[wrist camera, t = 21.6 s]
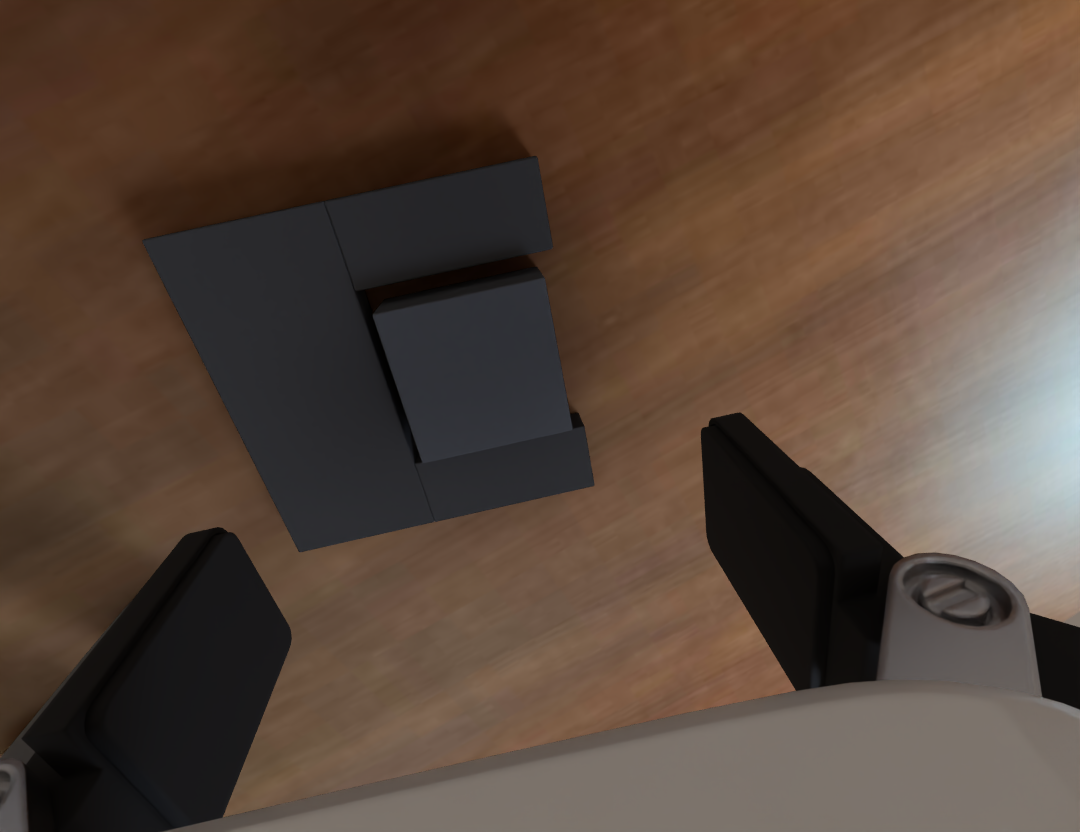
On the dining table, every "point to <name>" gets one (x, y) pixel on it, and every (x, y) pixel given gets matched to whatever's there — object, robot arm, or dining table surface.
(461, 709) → the dining table surface
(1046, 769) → the robot arm
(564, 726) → the dining table surface
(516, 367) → the grey block
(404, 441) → the dark grey notched block
